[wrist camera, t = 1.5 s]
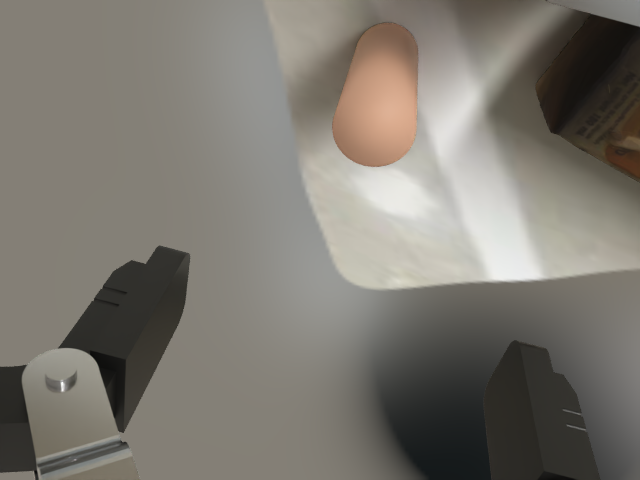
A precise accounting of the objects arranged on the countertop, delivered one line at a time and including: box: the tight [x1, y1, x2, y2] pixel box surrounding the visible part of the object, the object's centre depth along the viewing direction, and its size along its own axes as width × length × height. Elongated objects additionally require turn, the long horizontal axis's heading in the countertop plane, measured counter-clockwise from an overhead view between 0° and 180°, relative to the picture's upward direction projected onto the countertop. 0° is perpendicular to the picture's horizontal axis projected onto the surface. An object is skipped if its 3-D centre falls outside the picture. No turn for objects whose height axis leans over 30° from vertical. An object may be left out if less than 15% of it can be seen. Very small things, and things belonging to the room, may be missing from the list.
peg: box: [332, 23, 418, 167], centre depth 28 cm, size 3×3×10 cm
